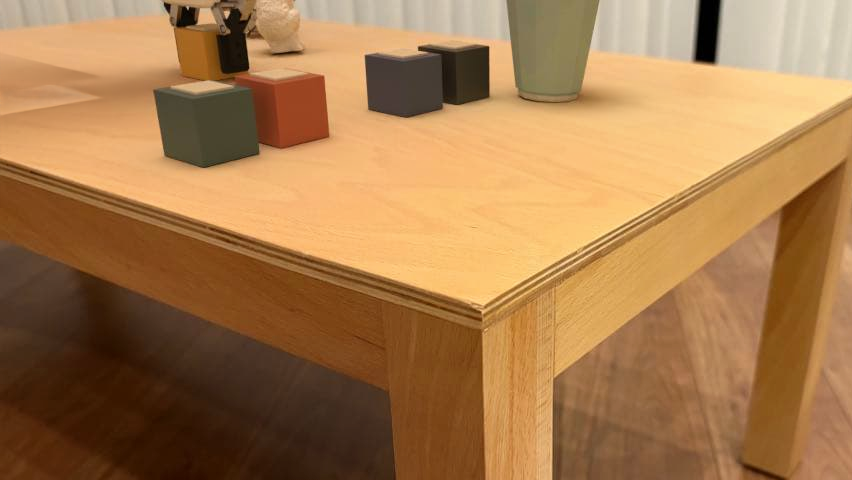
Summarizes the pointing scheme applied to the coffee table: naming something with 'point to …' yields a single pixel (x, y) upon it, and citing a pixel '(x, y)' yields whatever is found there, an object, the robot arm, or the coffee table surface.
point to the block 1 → (207, 122)
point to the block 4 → (462, 70)
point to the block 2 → (287, 106)
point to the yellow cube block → (200, 52)
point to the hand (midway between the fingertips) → (214, 66)
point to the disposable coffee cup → (550, 46)
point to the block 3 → (404, 82)
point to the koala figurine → (279, 25)
